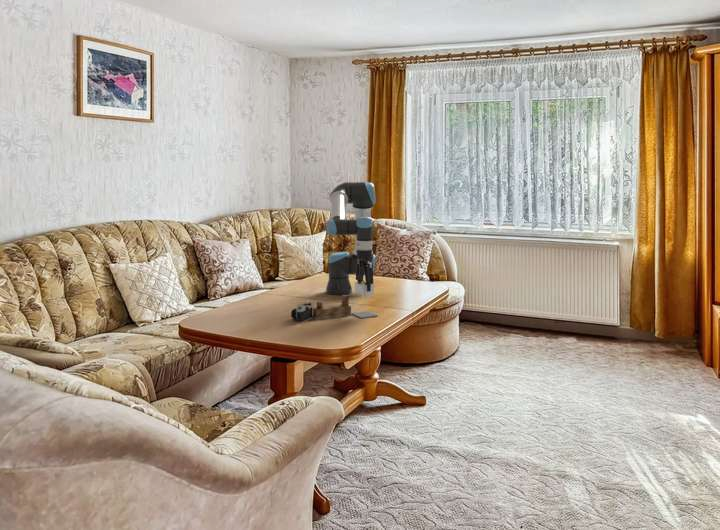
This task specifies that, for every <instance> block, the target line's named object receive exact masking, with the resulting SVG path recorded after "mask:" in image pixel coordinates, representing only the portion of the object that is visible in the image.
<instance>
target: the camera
mask: <svg viewBox="0 0 720 530" xmlns="http://www.w3.org/2000/svg"><path fill="white" fill-rule="evenodd" d="M313 308H314V307H313V303H311V302H301V303H299V304H297V306H296V308H293V309H292V310H291V312H290V317H291V319H293V320H296V323H297V324H302V323H304V322H307V321H308V320H310V319H313Z"/></svg>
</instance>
